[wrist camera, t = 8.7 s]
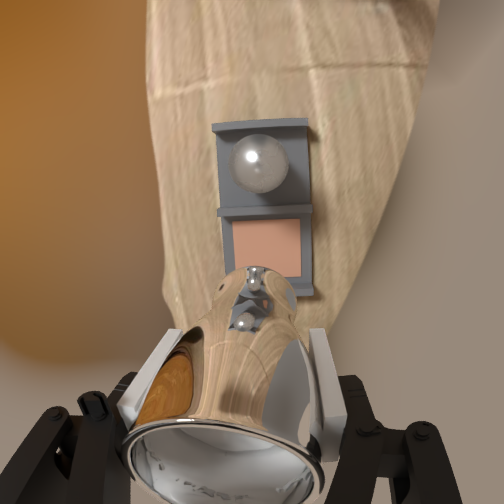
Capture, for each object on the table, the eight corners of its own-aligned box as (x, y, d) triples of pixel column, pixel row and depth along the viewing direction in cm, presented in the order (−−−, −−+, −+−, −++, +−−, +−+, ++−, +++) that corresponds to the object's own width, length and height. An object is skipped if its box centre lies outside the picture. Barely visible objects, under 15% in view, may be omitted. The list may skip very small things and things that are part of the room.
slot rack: (216, 127, 39) (211, 123, 36) (305, 122, 38) (307, 117, 34) (227, 289, 44) (224, 298, 41) (311, 287, 43) (313, 295, 40)
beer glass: (188, 303, 22) (85, 455, 8) (254, 238, 21) (200, 368, 6) (255, 361, 23) (229, 535, 8) (322, 305, 21) (374, 483, 7)
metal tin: (230, 166, 39) (215, 162, 29) (263, 136, 38) (259, 122, 28) (261, 199, 40) (256, 205, 30) (295, 168, 38) (301, 165, 29)
